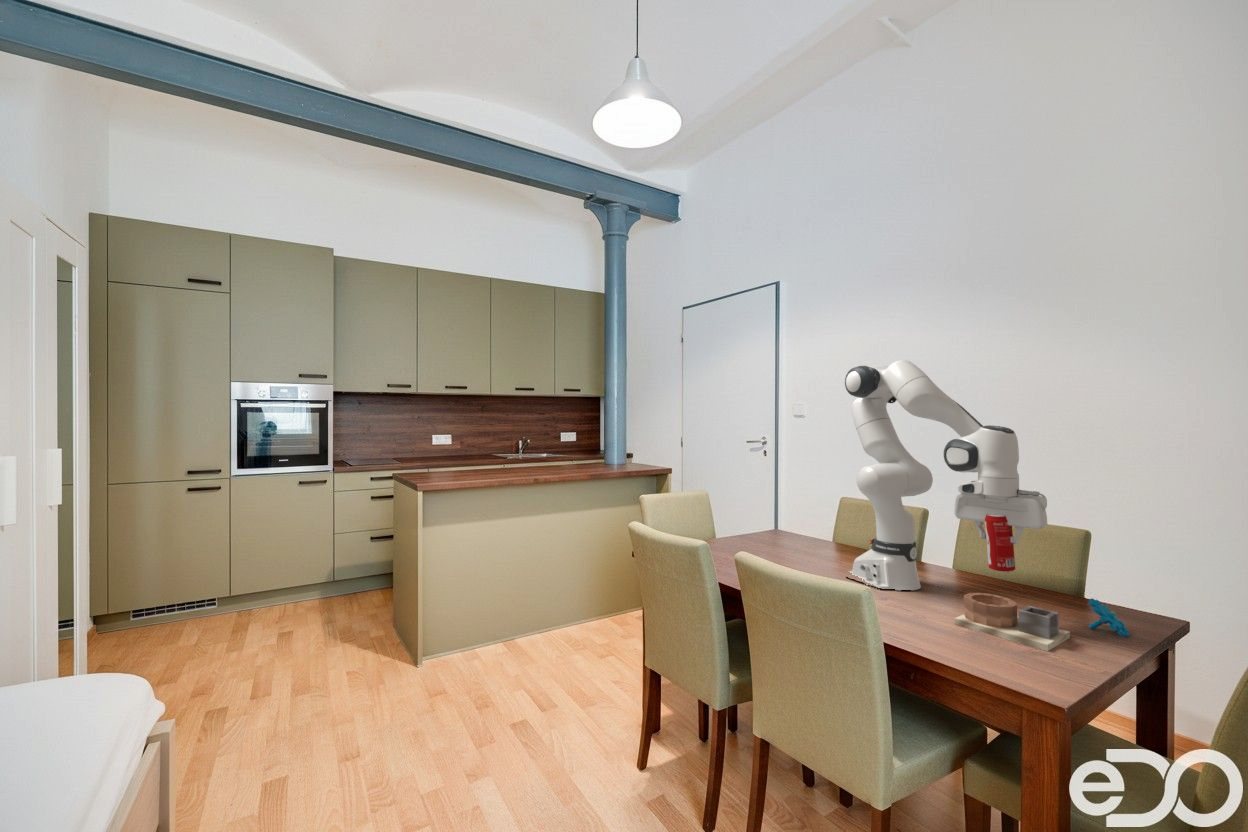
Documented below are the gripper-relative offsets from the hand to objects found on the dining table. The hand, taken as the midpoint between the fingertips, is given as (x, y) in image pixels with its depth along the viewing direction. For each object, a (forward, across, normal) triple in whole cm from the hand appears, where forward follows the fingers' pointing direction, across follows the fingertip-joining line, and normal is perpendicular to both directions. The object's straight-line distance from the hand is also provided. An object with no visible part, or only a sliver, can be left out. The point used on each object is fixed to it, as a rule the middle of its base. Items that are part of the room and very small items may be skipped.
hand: (998, 541), depth 141 cm
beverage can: (+8, 0, 0) cm, 8 cm away
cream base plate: (+21, -4, +4) cm, 22 cm away
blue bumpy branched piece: (+21, -18, -15) cm, 32 cm away
